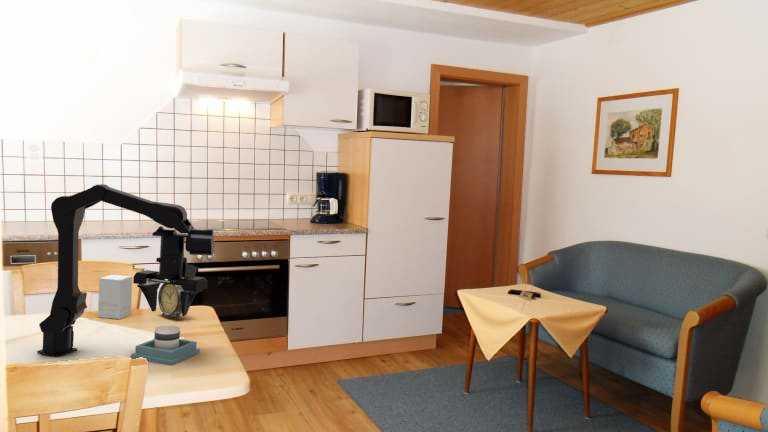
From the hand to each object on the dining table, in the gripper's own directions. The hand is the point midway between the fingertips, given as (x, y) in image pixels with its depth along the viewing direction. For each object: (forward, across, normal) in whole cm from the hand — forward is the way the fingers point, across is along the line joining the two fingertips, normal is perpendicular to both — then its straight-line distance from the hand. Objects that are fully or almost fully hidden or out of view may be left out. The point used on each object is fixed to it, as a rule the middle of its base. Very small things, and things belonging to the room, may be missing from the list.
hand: (168, 313), depth 150 cm
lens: (+10, 0, 0) cm, 10 cm away
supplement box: (+11, +38, -25) cm, 47 cm away
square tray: (+11, 0, 0) cm, 11 cm away
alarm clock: (+11, +22, -33) cm, 41 cm away
